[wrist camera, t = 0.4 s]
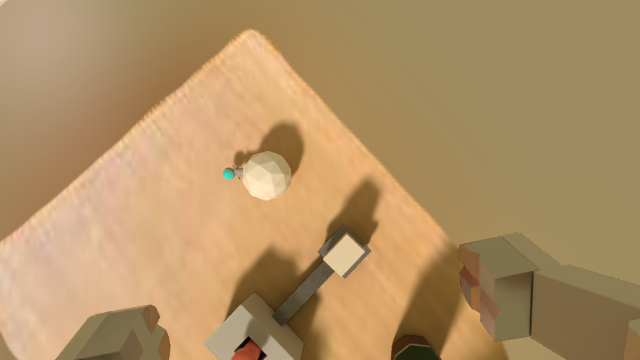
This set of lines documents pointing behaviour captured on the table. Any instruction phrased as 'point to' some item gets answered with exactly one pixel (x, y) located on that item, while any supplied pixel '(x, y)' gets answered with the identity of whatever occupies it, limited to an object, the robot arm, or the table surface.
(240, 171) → the perfume bottle
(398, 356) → the beer bottle
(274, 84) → the table surface
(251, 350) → the plunger
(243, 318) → the grey holed block
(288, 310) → the rail
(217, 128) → the table surface
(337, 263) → the cream box
